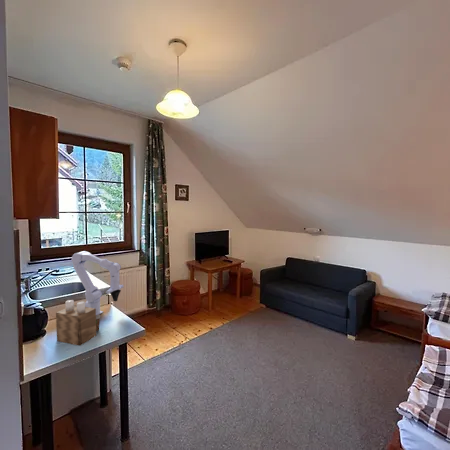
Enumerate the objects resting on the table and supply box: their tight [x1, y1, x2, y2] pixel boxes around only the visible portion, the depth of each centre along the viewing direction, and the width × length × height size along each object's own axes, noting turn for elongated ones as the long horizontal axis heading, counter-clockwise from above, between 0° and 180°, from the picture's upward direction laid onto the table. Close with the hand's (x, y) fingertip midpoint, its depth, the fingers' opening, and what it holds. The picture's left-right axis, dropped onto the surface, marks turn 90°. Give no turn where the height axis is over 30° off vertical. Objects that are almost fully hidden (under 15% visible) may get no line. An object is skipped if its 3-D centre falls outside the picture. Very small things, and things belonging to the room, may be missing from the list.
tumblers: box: [65, 299, 86, 313], centre depth 149 cm, size 12×4×5 cm, turn 73°
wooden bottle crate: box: [55, 304, 97, 347], centre depth 150 cm, size 16×12×16 cm
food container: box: [96, 314, 102, 332], centre depth 159 cm, size 12×6×10 cm, turn 73°
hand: (115, 300), depth 182 cm, fingers closed
